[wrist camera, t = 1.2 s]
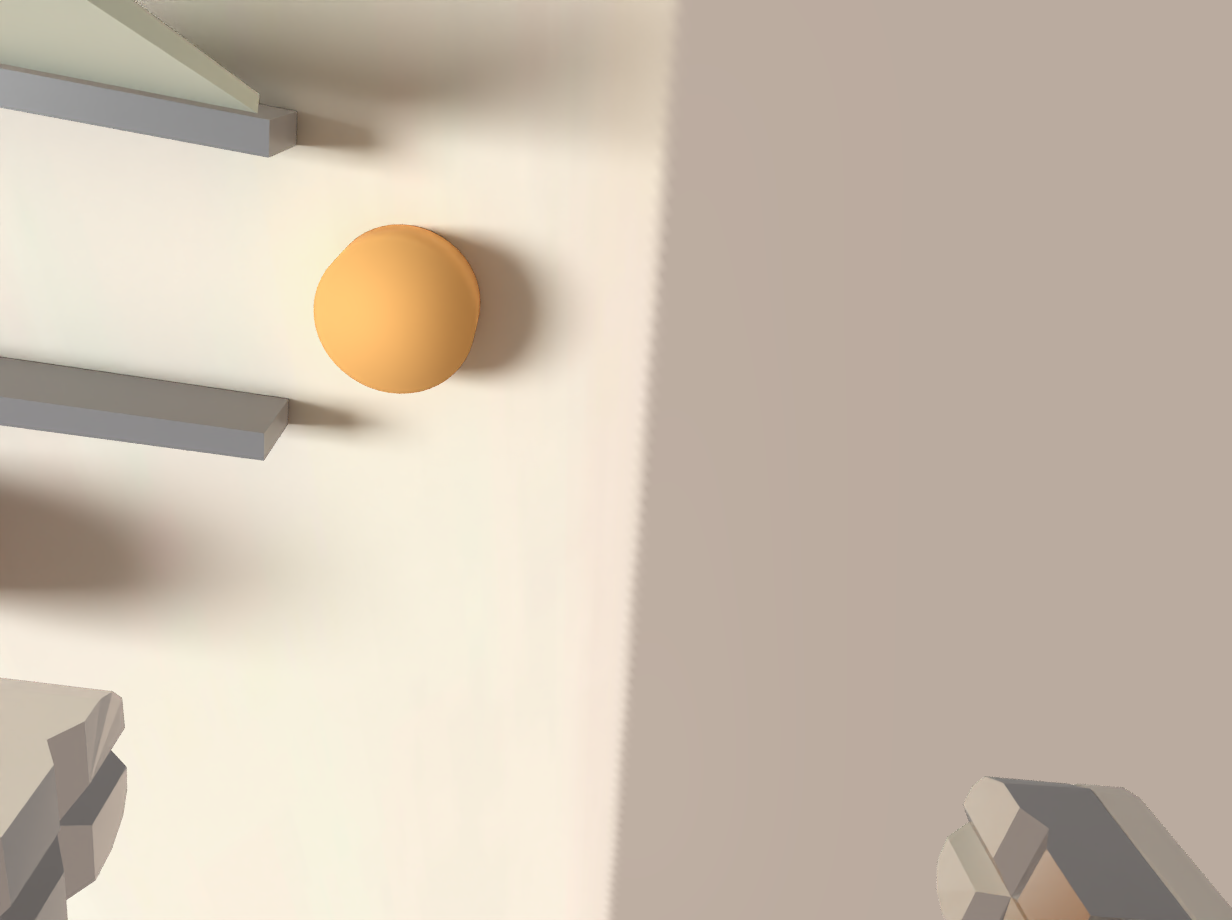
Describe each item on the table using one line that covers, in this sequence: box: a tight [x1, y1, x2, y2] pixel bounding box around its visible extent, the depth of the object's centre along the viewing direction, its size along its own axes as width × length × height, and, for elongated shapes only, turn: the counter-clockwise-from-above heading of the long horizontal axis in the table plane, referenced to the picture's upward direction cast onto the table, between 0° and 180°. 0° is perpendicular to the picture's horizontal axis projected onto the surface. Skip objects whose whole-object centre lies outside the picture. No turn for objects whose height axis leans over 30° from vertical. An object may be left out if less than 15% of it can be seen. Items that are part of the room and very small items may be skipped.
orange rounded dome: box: [314, 224, 480, 394], centre depth 34 cm, size 6×6×3 cm
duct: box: [0, 64, 297, 460], centre depth 31 cm, size 13×16×4 cm
